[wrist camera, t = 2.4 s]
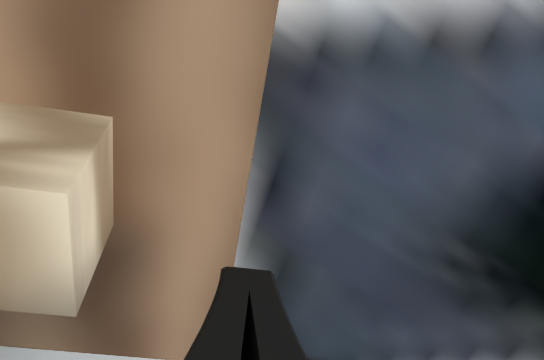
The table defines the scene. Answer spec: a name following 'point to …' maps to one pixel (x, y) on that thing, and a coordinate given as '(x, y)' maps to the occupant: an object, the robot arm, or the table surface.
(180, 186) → the trap deck
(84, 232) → the birch block
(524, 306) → the table surface
